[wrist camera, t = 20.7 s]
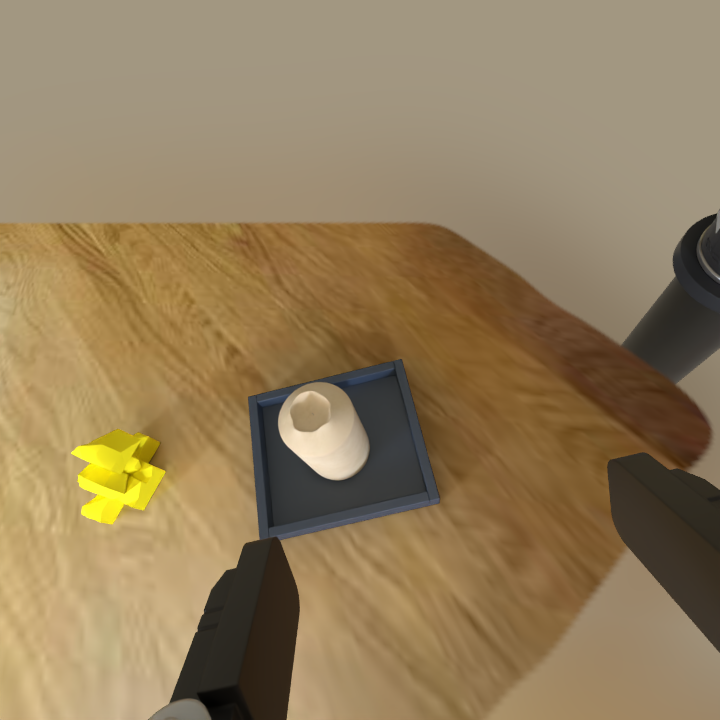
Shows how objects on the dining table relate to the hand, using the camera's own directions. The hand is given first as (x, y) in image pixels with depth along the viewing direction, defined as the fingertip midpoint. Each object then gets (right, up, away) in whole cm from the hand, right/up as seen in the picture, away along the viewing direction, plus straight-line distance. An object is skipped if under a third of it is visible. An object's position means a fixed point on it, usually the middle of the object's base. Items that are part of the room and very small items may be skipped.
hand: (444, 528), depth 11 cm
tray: (-4, -4, +29) cm, 29 cm away
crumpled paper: (-24, -7, +31) cm, 39 cm away
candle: (-4, -4, +28) cm, 29 cm away
